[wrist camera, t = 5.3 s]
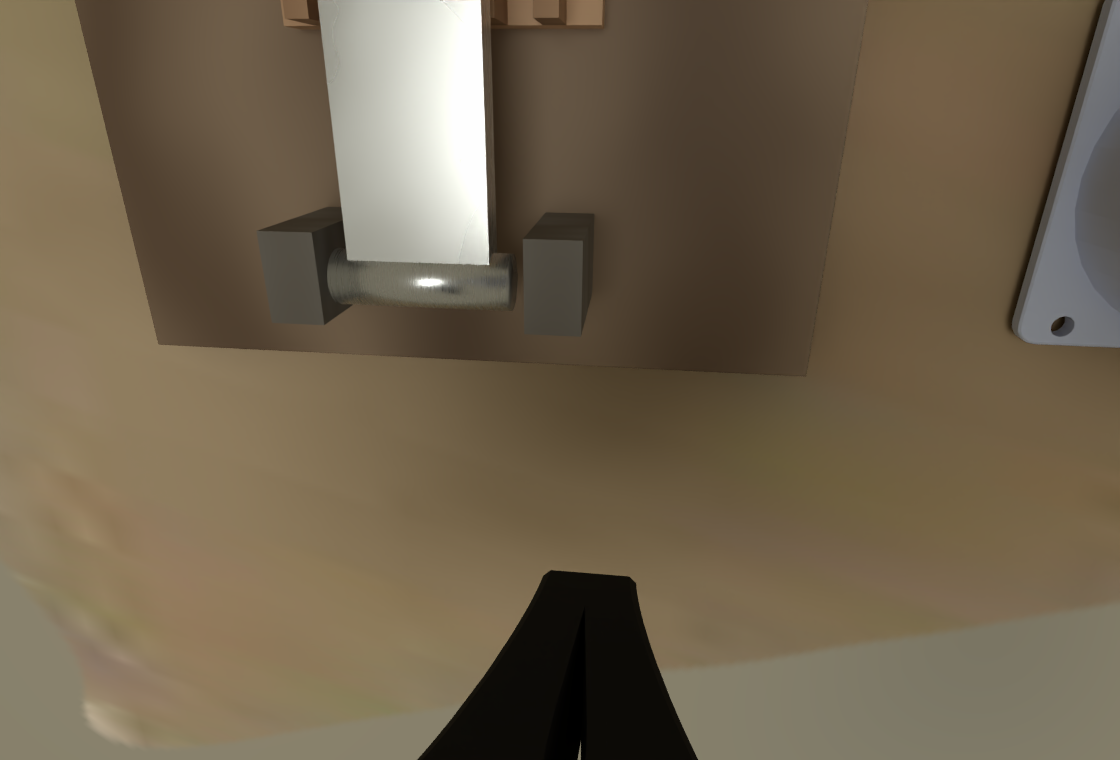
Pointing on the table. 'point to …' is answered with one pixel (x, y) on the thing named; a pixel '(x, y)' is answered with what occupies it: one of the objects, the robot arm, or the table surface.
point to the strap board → (499, 178)
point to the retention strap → (415, 154)
